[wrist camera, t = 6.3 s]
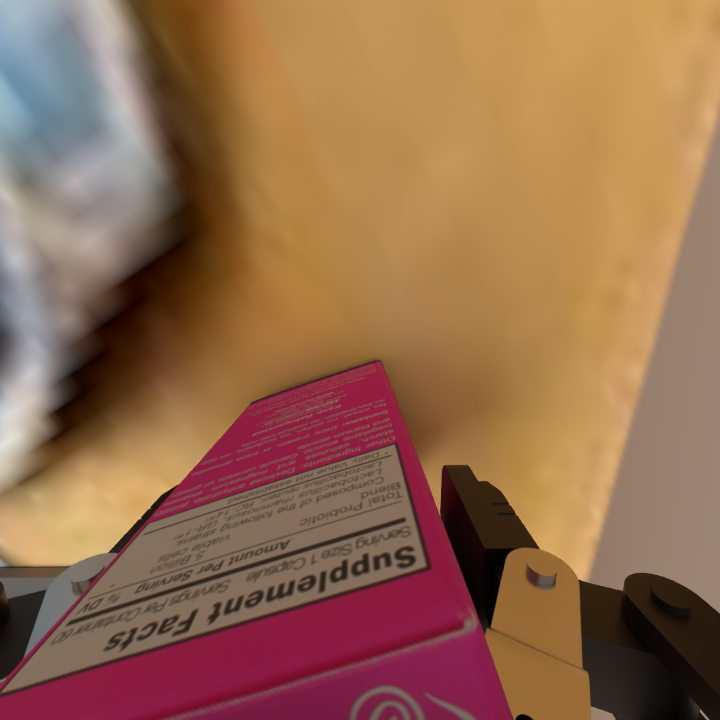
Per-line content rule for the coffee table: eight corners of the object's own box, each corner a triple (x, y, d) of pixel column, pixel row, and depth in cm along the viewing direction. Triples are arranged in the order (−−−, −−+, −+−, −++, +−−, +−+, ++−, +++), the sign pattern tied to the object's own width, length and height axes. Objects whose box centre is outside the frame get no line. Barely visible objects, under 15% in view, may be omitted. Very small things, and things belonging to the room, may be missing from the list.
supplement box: (427, 478, 15) (622, 1042, 4) (298, 517, 15) (139, 1132, 4) (386, 352, 14) (495, 646, 3) (247, 399, 14) (-159, 821, 3)
